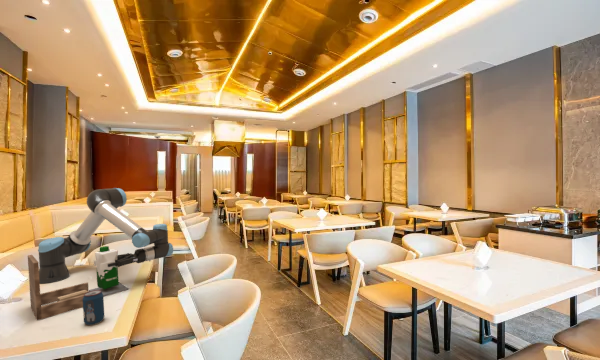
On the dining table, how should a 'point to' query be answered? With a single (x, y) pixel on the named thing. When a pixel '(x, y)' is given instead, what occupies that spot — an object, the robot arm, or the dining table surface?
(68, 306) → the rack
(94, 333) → the dining table surface
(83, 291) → the offcut upper
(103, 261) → the soya milk
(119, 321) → the dining table surface
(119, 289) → the mat
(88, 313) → the soda can
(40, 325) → the dining table surface
